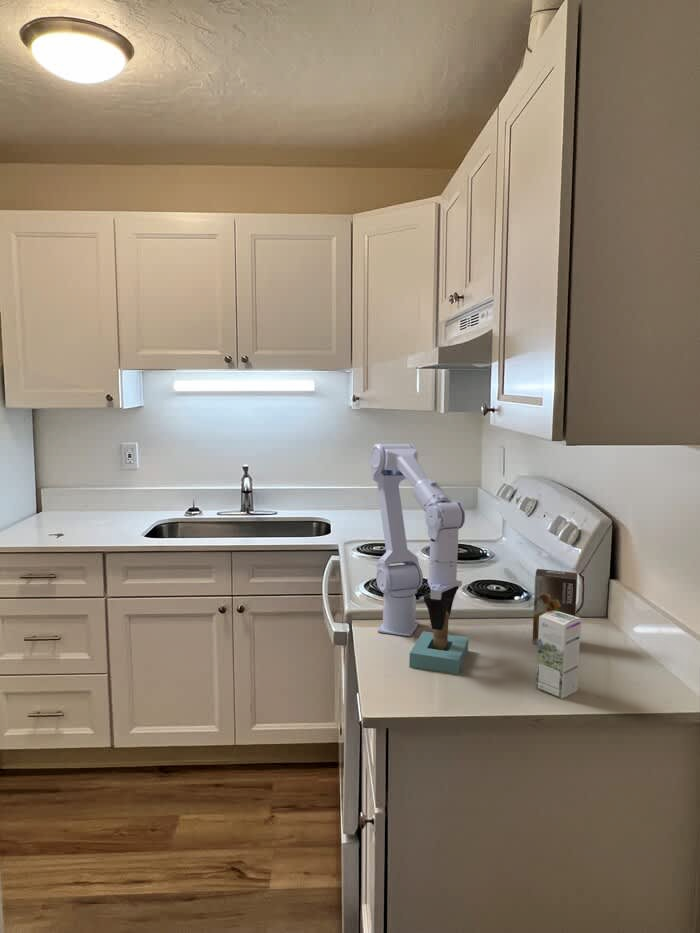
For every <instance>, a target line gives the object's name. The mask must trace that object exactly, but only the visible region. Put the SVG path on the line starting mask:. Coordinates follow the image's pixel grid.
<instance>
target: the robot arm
mask: <svg viewBox="0 0 700 933" xmlns="http://www.w3.org/2000/svg"><path fill="white" fill-rule="evenodd" d="M418 455H419V454H418V450H417V449H416V448H415V446H414V444H412V443H410V442H408V443H375V444H374V445H373V446H372V448H371V450H370V455H369V464H370V465H369V466H370V471H371V473H370V474H371V477H372V478H371V479H372V480H373V481H374V482H376V484H377V491H378V494H377V495H378V499H379V507H380V517H381V522H382V530H383V538H384V546H385V553H384V554H383V555H382V556H381V557H380V558H379V559H378V560H377V561H376V578H375V579H376V580H375V581H376V585H377V588H378V590H380V593H382V594H383V602H382V603H383V607H382V611H383V612H382V624H380V626H379V627H378V628H377V632H378V633H383V634H388V635H389V634H390V635H398V636H404V637H411V636H413V633H414V632H415V631H416V629H417V627H418V626H419V625H420V621H419V620H416V614H417V613H416V611H417V608H416V606H417V598H416V594H418V590H419V589H420V588H421V586H422V584H423V582H424V581H423V580H424V575H423V571H422V569H421V565H420V562H419V558H418V556H416V555H415V554H413V553H412V552H411V551H410V550H409V549H408V544H407V542H408V541H407V538H406V537H407V536H406V528H405V522H404V521H405V520H404V514H403V506H402V500H401V494H400V493H401V492H400V483H401V482H402V481H404V480H407V481H408V482H409V483H410V484H411V486H412V487H413V488H414V489H413V497H414V499H416V501H417V503H418V504H419V505H420V507H421V508H422V510H423V511H424V512H425V515H424V518H425V522H426V527H427V535H428V538H429V561H428V562H429V564H428V578H427V585H428V587H429V588H430V593H426V592H425V593H424V595H423V598H422V599H423V601H424V603H425V605H426V607H427V610H428V615H429V620H430V625H431V629H432V630H434V629H435V630H442V629H443V626H444V622H445V617H446V612H448V613H449V617H448V619H449V618H450V616H451V613H452V607H453V602H454V599H455V596H456V594H457V591H458V589H459V588H460V587H462V585H463V581H462V580H458V579H457V574H458V553H459V550H458V549H459V529H461V528H463V526H464V524H465V521H466V512H465V509H464V507H463V504H462V503H461V502H460V501H459V500H454V499H453V498H451V499H450V498H449V497H448V495H447V494H446V493H445V491H444V490H443V489H442V487H441V486H440V485H439V483H438V482H437V480H436V479H434V478H428V477H427V475H426V474H425V472H424V470H423V468H422V467H421V465H420V463H419V462H418V457H419V456H418Z"/></svg>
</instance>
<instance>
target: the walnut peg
mask: <svg viewBox="0 0 700 933" xmlns="http://www.w3.org/2000/svg"><path fill="white" fill-rule="evenodd" d="M448 617H449V618H450V616H449V613H448V612H446V617H445V622H444V626H443V629H442V630H435V629H433V632H432V633H433V649H436V650H443V651H447V643H448V635H449V618H448Z"/></svg>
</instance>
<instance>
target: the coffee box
mask: <svg viewBox="0 0 700 933" xmlns="http://www.w3.org/2000/svg"><path fill="white" fill-rule="evenodd" d="M577 590H578V573H577V572H573V571H572V572H571V571H570V572H569V571H561V570H551V569H542V568H537V569H536V571H535V575H534V594H533V595H534V598H533V615H532V616H533V619H532V620H533V621H532V623H533V624H532V641H531V642H532V645H537V646H538V632H539V616H541V615H543V614H545V613H547V612H550V611H559V612H562V613H565V614H569V615H572V616H575V617H577V615H576V614H577V596H578V595H577V593H578V591H577Z"/></svg>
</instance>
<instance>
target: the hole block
mask: <svg viewBox="0 0 700 933" xmlns="http://www.w3.org/2000/svg"><path fill="white" fill-rule="evenodd" d="M469 639H470V638H469V637H467V636H459V635H454V634H453V635H452V634H448V643H447V651H443V650H436V649H433V632H430V631H424V630H423V631H422V633H421V634H420V636H419V637H418V639H417V641H416V642H415V644H414V645H413V646H412V649H411V650H410V652H409V663H408V664H409V666H408V668H413V669H421V670H426V671H433V672H438V673H446V674H451V675H458V676H459V674H460V671H461V669H462V666H463V665H464V661H465V659H466V657H467V654H468V651H469Z"/></svg>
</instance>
